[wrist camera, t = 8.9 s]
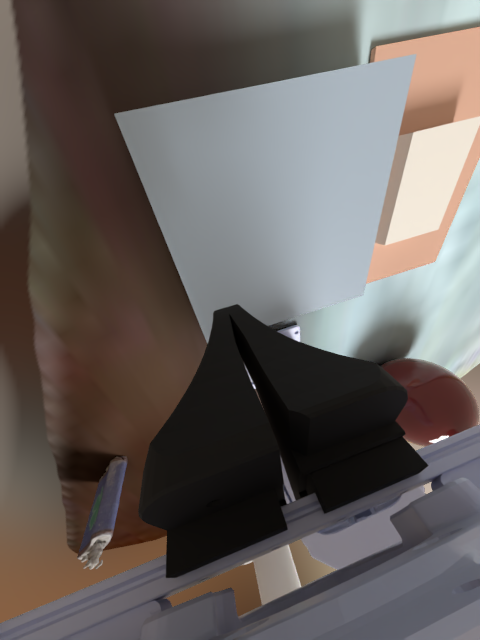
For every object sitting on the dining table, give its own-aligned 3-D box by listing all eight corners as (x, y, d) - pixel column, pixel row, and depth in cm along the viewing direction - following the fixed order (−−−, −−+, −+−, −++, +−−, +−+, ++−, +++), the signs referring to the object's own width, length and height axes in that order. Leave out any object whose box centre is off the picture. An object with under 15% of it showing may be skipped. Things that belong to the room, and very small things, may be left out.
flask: (113, 455, 30) (87, 560, 22) (133, 455, 32) (116, 553, 23) (96, 482, 34) (68, 583, 25) (115, 481, 35) (95, 576, 27)
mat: (431, 260, 25) (435, 261, 24) (339, 289, 23) (341, 291, 23) (531, 19, 14) (540, 15, 14) (371, 49, 13) (376, 46, 12)
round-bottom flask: (381, 390, 42) (503, 513, 26) (337, 392, 38) (454, 543, 22) (426, 344, 36) (621, 468, 20) (380, 339, 31) (589, 496, 15)
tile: (384, 245, 19) (368, 241, 20) (438, 229, 19) (418, 226, 21) (413, 132, 14) (389, 138, 15) (483, 115, 14) (453, 122, 16)
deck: (337, 279, 22) (363, 295, 19) (203, 321, 21) (207, 345, 18) (360, 85, 14) (416, 54, 10) (131, 133, 12) (114, 113, 9)
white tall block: (238, 456, 42) (274, 618, 26) (267, 451, 45) (315, 597, 29) (225, 479, 48) (249, 625, 32) (252, 473, 50) (285, 606, 34)
